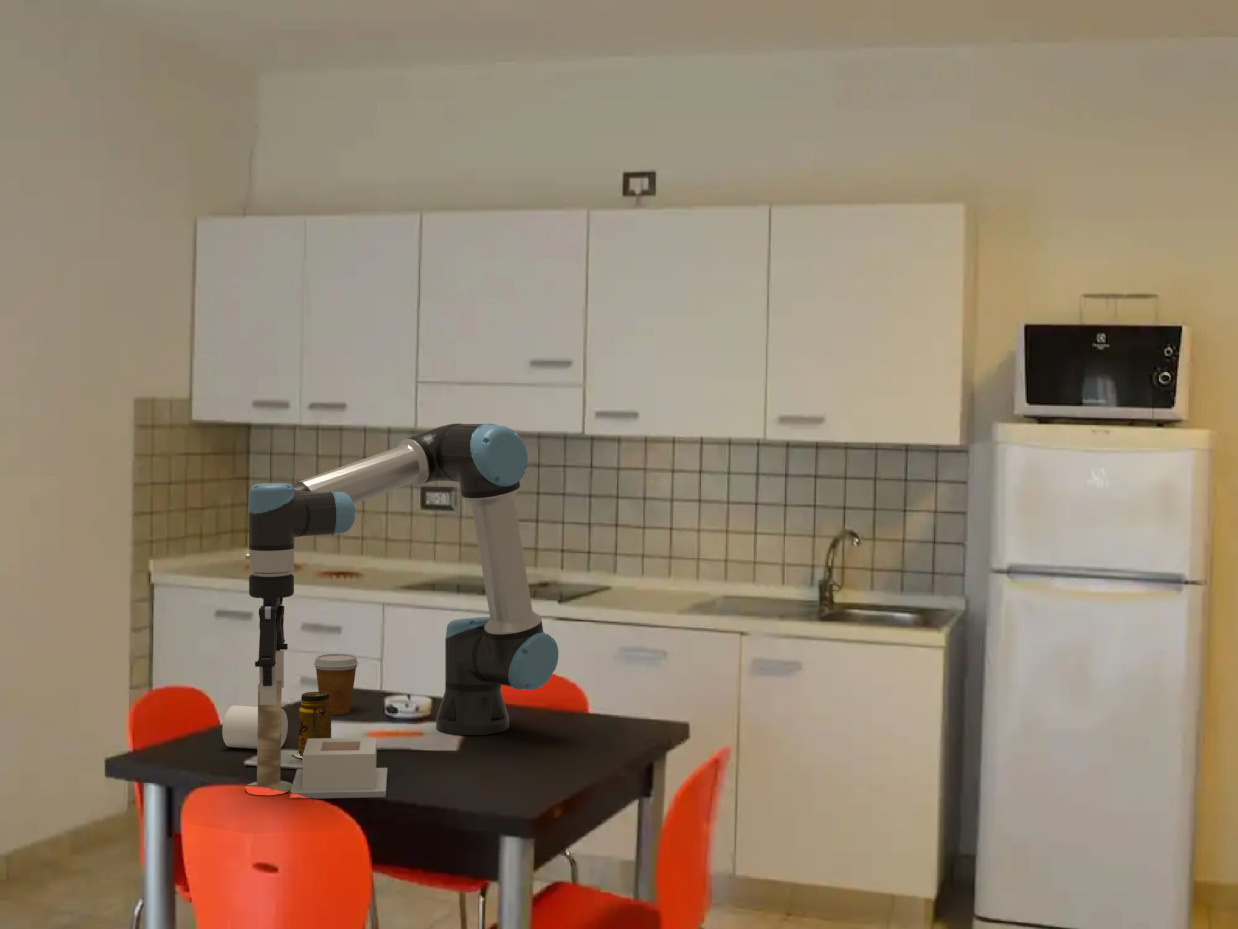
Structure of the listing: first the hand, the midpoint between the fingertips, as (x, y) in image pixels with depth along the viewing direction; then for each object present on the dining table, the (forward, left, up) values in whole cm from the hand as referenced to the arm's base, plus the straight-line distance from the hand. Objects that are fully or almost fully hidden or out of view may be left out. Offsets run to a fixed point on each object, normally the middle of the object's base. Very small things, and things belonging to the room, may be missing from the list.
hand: (272, 696), depth 243 cm
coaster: (0, 0, -16) cm, 16 cm away
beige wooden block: (0, 0, -16) cm, 16 cm away
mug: (+5, -33, -17) cm, 37 cm away
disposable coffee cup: (-8, -63, -17) cm, 65 cm away
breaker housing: (-12, -2, -16) cm, 20 cm away
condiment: (-7, -24, -17) cm, 30 cm away
